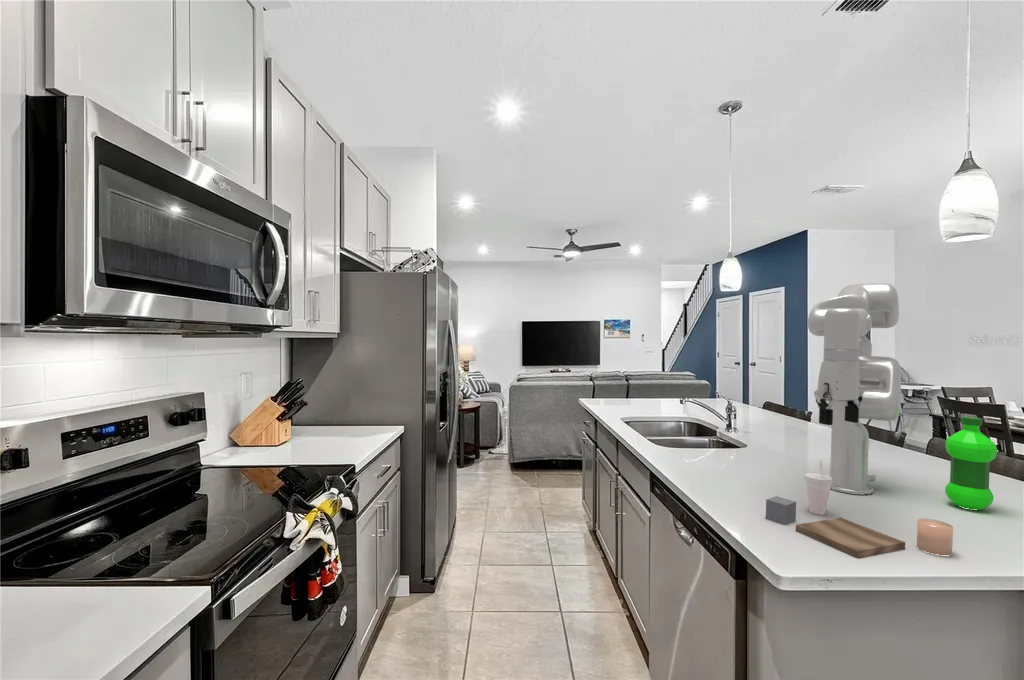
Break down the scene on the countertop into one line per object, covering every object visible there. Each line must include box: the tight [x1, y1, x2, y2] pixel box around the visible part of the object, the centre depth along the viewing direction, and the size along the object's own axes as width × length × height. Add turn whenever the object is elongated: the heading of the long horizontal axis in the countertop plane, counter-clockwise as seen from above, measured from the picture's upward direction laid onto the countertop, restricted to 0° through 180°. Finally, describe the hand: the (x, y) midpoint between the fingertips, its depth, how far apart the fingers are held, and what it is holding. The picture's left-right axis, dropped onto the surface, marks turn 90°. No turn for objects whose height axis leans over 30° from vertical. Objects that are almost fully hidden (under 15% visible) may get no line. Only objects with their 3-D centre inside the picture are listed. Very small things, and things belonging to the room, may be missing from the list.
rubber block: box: [765, 495, 797, 526], centre depth 126 cm, size 5×5×5 cm
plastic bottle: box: [944, 416, 998, 511], centre depth 137 cm, size 10×10×25 cm
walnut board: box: [795, 517, 906, 559], centre depth 115 cm, size 15×15×2 cm
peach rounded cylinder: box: [916, 518, 954, 555], centre depth 109 cm, size 6×6×6 cm
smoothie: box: [804, 460, 833, 516], centre depth 132 cm, size 6×6×14 cm
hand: (838, 423), depth 127 cm, fingers open, 9 cm apart
